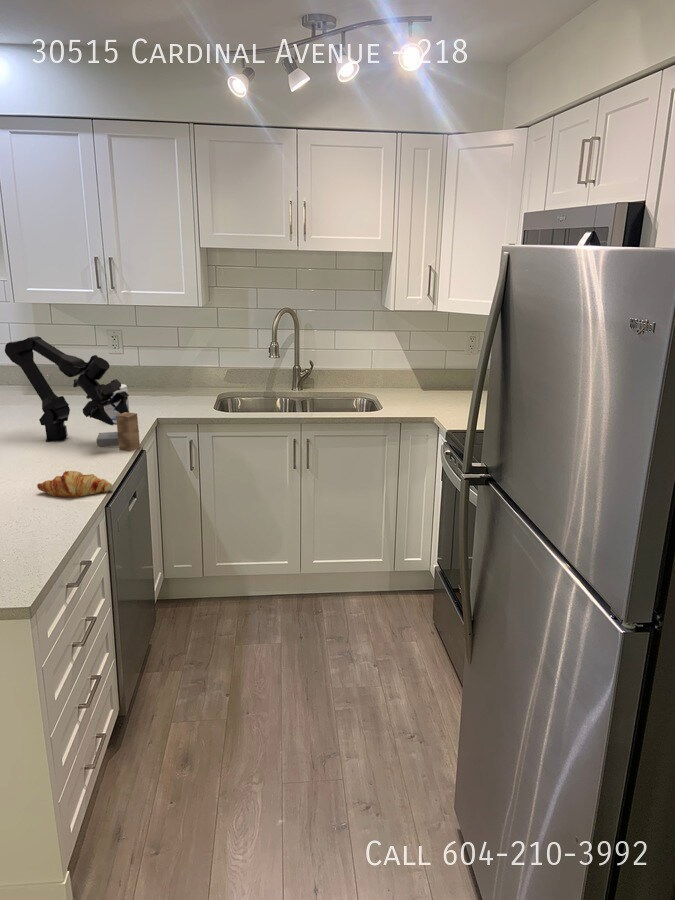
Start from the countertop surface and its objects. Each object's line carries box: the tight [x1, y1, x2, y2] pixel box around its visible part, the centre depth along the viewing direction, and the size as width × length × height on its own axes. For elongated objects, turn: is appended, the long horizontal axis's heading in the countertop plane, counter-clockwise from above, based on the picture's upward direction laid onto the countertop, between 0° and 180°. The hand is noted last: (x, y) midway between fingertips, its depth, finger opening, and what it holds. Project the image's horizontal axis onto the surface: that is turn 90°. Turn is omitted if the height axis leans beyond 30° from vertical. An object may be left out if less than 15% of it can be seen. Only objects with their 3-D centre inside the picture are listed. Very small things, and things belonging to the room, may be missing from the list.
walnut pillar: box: [116, 412, 141, 452], centre depth 228 cm, size 5×5×12 cm
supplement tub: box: [104, 383, 130, 425], centre depth 264 cm, size 10×10×15 cm
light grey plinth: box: [96, 431, 119, 447], centre depth 238 cm, size 9×9×2 cm
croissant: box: [36, 470, 114, 498], centre depth 189 cm, size 21×10×8 cm, turn 97°
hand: (121, 421), depth 228 cm, fingers open, 9 cm apart
